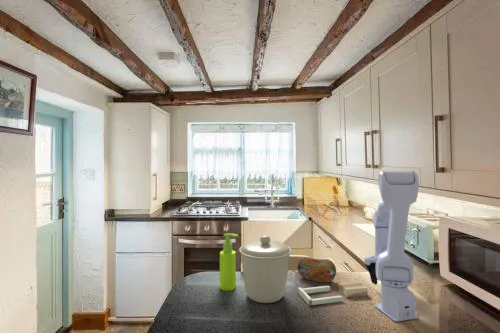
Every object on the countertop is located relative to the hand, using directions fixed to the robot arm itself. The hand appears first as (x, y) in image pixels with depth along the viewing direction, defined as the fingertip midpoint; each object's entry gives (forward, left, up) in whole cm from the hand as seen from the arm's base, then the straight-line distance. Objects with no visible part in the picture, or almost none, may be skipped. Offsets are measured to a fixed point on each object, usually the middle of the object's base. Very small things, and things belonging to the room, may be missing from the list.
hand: (383, 282), depth 105 cm
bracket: (0, +26, -3) cm, 26 cm away
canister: (+5, +44, -3) cm, 44 cm away
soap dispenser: (+15, +55, -3) cm, 57 cm away
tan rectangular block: (0, +13, -3) cm, 13 cm away
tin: (+14, +20, -3) cm, 24 cm away
